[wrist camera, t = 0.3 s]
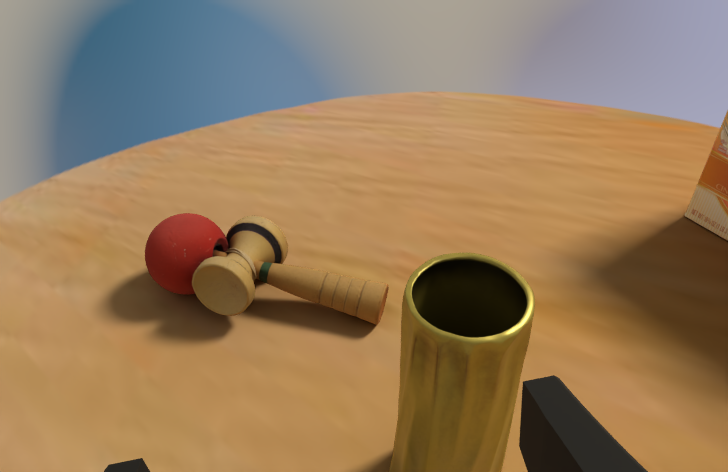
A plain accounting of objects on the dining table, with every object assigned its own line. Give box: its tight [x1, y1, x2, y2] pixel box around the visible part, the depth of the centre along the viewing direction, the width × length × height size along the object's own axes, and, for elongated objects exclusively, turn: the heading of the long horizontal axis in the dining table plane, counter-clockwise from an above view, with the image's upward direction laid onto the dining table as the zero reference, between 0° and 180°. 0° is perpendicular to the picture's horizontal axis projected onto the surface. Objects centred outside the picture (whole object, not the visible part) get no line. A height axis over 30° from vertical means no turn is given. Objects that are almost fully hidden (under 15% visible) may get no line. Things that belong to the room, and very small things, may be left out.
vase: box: [389, 253, 535, 472], centre depth 28 cm, size 6×6×14 cm
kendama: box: [145, 213, 388, 324], centre depth 43 cm, size 8×6×18 cm
